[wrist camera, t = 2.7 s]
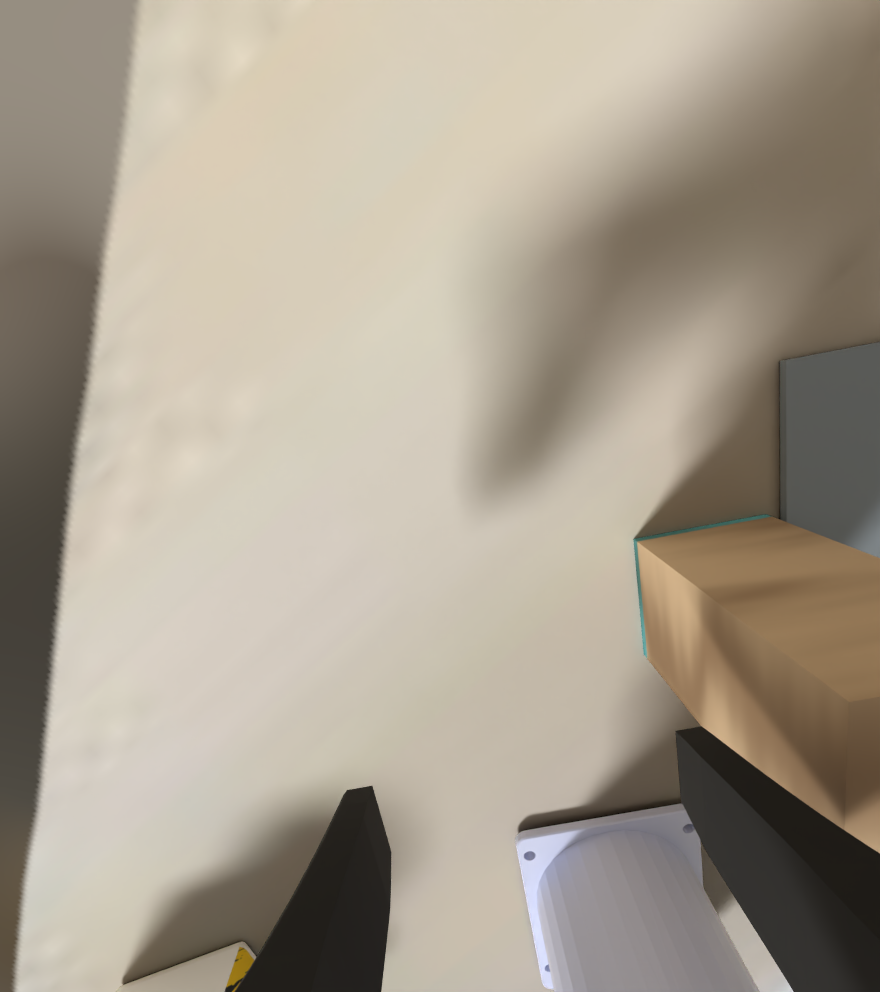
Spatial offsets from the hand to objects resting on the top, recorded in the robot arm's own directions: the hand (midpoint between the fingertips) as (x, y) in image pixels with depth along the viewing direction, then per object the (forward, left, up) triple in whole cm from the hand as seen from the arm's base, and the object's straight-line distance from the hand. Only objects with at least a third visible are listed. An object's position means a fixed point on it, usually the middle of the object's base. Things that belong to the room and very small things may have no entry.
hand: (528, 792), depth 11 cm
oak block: (0, -8, -7) cm, 11 cm away
